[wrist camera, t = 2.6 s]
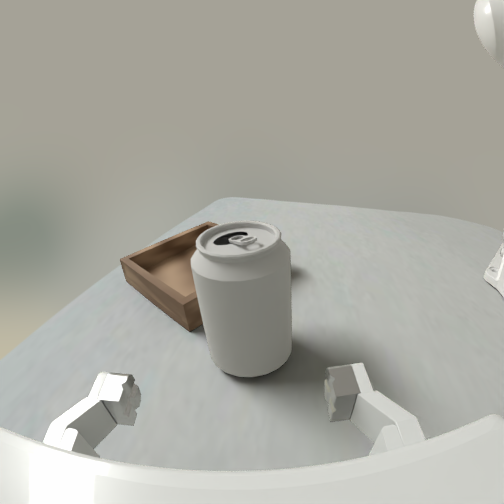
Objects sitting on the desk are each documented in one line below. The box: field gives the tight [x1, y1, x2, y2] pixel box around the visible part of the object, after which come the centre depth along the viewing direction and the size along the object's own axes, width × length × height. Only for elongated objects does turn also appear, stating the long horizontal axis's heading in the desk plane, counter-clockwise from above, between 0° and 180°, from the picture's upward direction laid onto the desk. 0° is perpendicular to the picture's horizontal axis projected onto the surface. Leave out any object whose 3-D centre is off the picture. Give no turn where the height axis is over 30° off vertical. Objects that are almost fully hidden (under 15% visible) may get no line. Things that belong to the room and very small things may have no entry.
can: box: [191, 221, 292, 377], centre depth 25 cm, size 8×8×12 cm
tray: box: [120, 222, 218, 332], centre depth 40 cm, size 16×16×4 cm
